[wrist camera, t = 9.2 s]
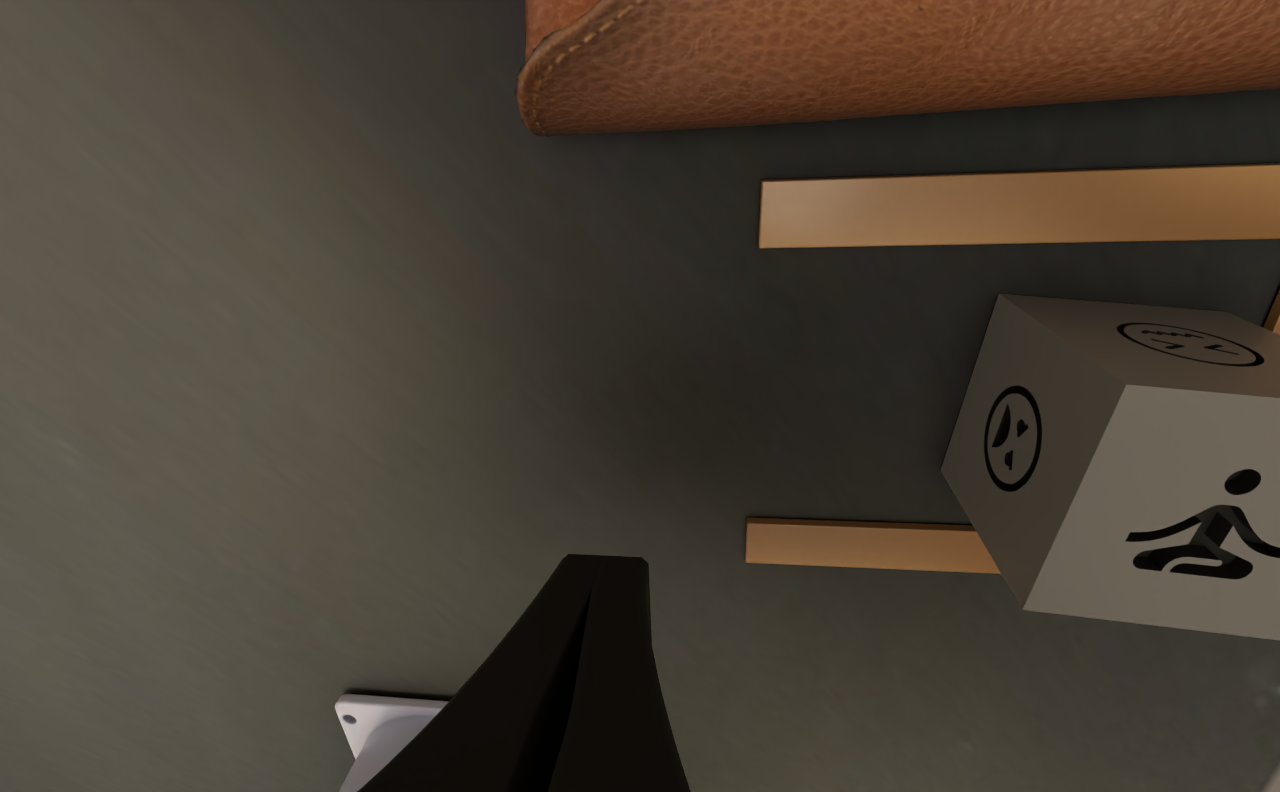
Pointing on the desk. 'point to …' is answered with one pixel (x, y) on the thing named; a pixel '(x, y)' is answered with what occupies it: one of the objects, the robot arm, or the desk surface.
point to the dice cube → (1126, 462)
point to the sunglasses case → (873, 58)
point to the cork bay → (990, 215)
